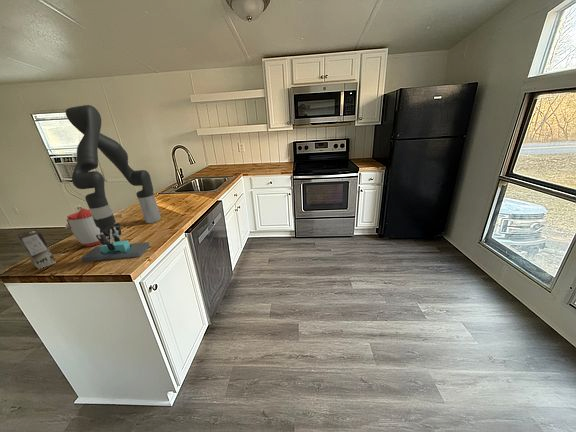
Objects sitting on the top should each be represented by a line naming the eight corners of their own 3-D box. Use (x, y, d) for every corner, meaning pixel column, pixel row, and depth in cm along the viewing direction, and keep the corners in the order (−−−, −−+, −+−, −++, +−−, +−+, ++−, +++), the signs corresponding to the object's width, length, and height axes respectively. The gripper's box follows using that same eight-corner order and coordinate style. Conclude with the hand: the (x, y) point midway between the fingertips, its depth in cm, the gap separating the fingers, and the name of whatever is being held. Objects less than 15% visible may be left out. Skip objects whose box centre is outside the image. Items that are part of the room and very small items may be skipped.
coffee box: (57, 262, 110) (41, 232, 104) (38, 269, 105) (20, 238, 99) (51, 258, 114) (35, 228, 108) (33, 264, 109) (15, 234, 103)
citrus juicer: (74, 243, 128) (59, 209, 121) (112, 232, 138) (99, 201, 131) (74, 253, 117) (56, 217, 109) (115, 241, 127) (101, 207, 119)
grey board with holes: (98, 251, 118) (96, 246, 117) (149, 246, 119) (148, 242, 118) (83, 262, 108) (81, 257, 108) (139, 256, 110) (138, 252, 109)
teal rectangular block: (109, 252, 116) (105, 242, 113) (132, 250, 116) (128, 240, 114) (103, 257, 112) (99, 247, 109) (127, 255, 112) (123, 244, 110)
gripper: (104, 210, 112) (116, 241, 119) (82, 222, 99) (97, 256, 106) (120, 209, 113) (131, 240, 119) (100, 220, 99) (114, 254, 106)
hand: (115, 247), depth 112 cm, fingers open, 4 cm apart
